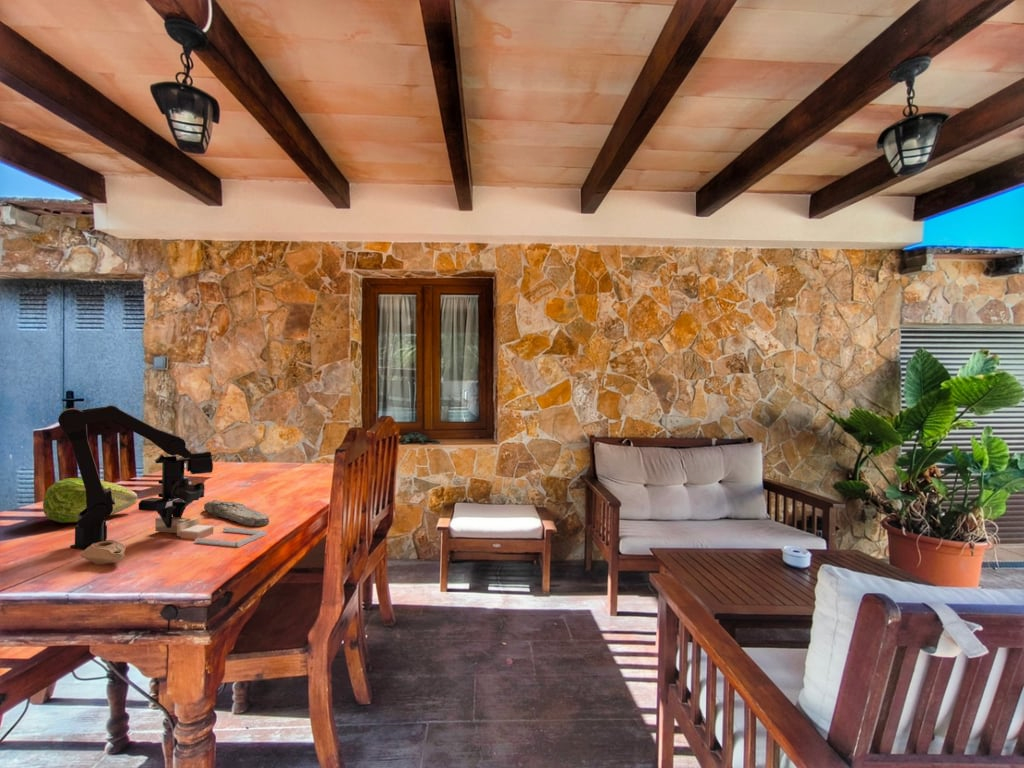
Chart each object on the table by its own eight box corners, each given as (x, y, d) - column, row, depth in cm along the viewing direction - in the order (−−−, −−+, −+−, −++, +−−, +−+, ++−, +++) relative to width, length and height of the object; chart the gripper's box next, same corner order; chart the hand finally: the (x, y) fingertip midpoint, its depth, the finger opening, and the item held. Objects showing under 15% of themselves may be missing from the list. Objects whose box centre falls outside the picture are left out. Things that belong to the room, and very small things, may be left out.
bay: (238, 547, 144) (238, 543, 144) (194, 542, 147) (194, 538, 147) (266, 534, 156) (266, 530, 156) (225, 530, 159) (225, 527, 159)
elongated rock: (247, 534, 160) (277, 528, 169) (249, 518, 160) (278, 513, 169) (194, 510, 180) (223, 506, 188) (196, 495, 180) (224, 492, 188)
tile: (198, 540, 150) (198, 531, 150) (180, 538, 151) (180, 530, 151) (213, 534, 156) (213, 526, 156) (196, 532, 157) (196, 524, 157)
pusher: (179, 536, 151) (180, 523, 151) (148, 533, 153) (148, 520, 153) (198, 529, 158) (198, 516, 158) (168, 526, 160) (168, 514, 160)
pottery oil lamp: (100, 572, 123) (84, 547, 123) (88, 576, 131) (74, 553, 130) (139, 550, 130) (124, 527, 130) (126, 555, 137) (112, 533, 137)
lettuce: (139, 521, 170) (144, 477, 172) (40, 525, 153) (49, 477, 155) (130, 518, 182) (136, 477, 184) (38, 522, 165) (46, 477, 167)
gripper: (170, 483, 145) (169, 537, 145) (219, 472, 163) (218, 519, 163) (137, 481, 147) (136, 534, 147) (189, 470, 165) (188, 517, 165)
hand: (172, 526), depth 155 cm, fingers closed on pusher, 2 cm apart
